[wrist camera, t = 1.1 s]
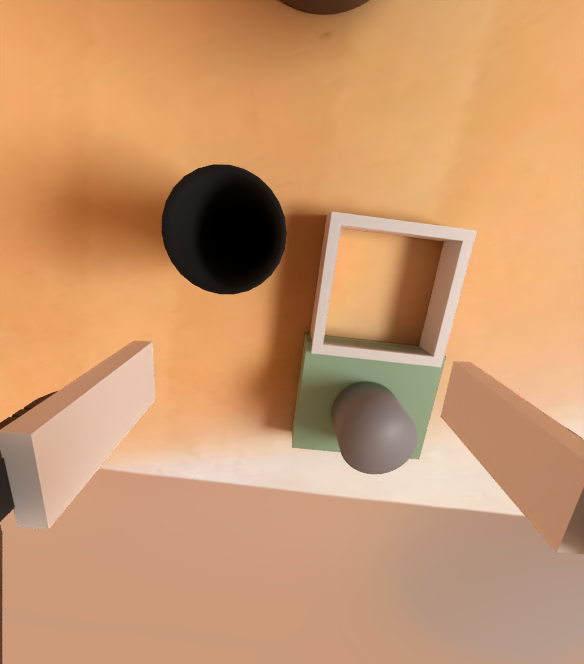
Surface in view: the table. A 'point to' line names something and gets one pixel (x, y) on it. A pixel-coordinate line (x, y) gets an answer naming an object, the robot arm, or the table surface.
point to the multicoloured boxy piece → (376, 361)
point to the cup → (223, 229)
